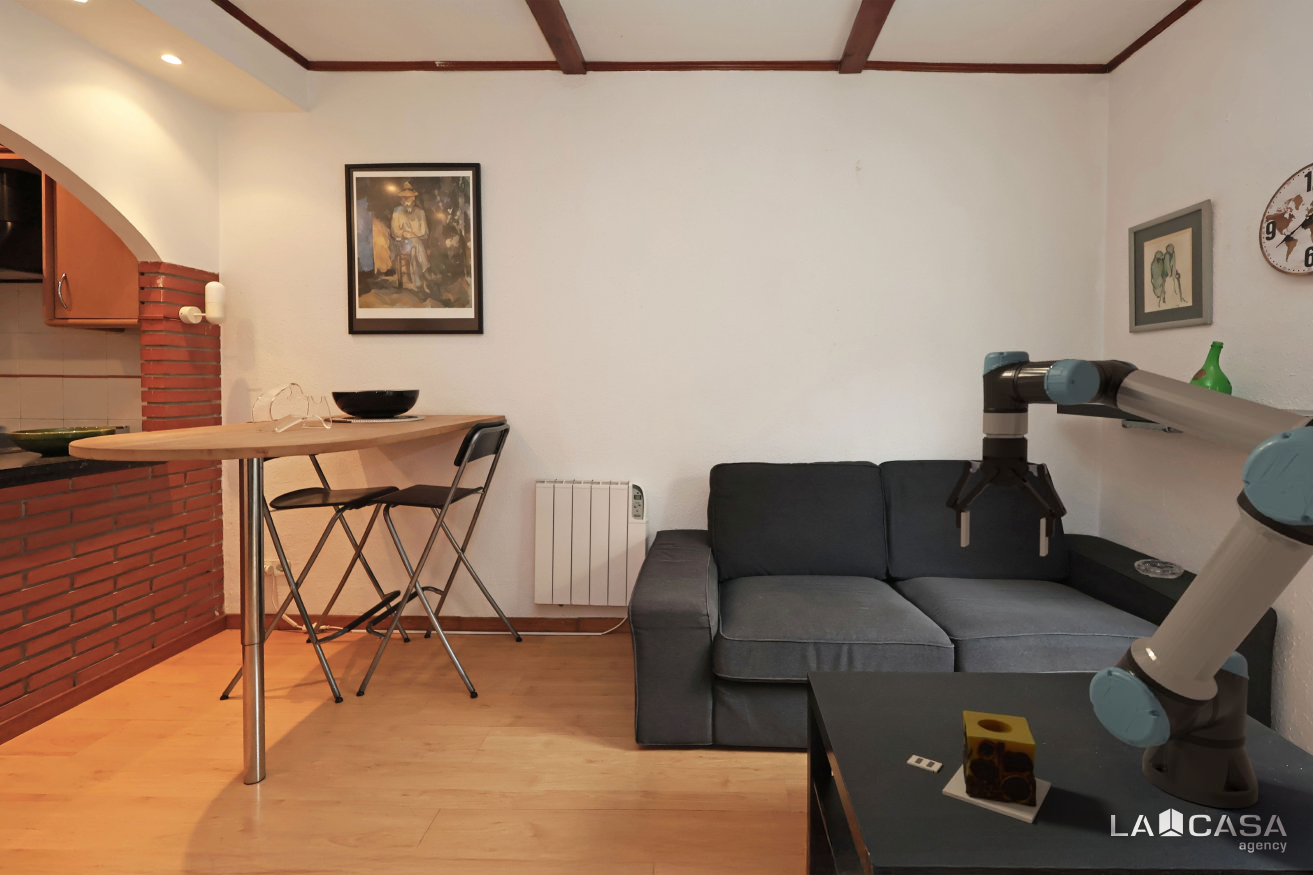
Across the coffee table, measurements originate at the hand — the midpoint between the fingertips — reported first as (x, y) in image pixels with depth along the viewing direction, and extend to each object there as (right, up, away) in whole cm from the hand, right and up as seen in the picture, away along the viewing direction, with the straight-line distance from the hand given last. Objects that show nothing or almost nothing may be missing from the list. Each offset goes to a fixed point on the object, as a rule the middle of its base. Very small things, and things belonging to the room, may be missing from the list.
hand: (1003, 550), depth 136 cm
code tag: (-18, -36, -9) cm, 41 cm away
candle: (-9, -36, -18) cm, 41 cm away
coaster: (-9, -36, -18) cm, 41 cm away
